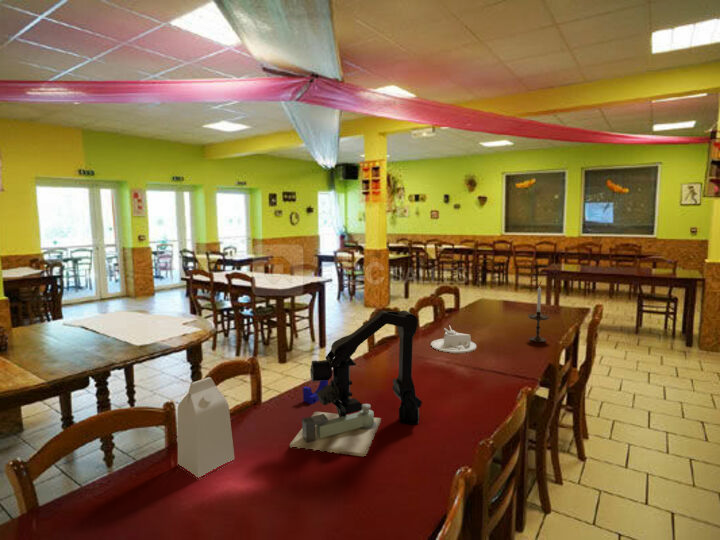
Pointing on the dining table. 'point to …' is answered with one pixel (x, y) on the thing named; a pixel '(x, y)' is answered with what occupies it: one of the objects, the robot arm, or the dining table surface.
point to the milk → (204, 429)
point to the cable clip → (313, 397)
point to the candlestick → (538, 318)
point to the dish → (454, 342)
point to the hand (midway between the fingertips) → (341, 421)
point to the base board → (340, 439)
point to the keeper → (312, 426)
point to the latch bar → (347, 422)
